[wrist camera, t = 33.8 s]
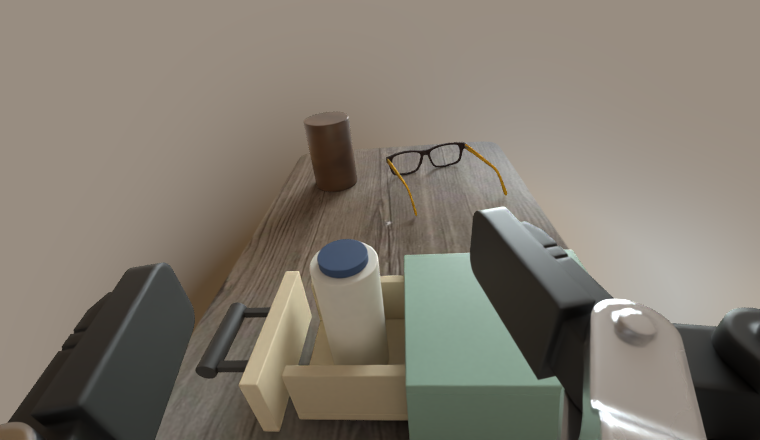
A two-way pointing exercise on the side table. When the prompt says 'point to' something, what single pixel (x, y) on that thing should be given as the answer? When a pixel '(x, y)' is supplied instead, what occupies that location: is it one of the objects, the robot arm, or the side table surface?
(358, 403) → the drawer
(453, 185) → the side table surface
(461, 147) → the eyeglasses
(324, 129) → the stand
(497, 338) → the cabinet
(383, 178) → the side table surface
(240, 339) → the side table surface
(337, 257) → the tube
